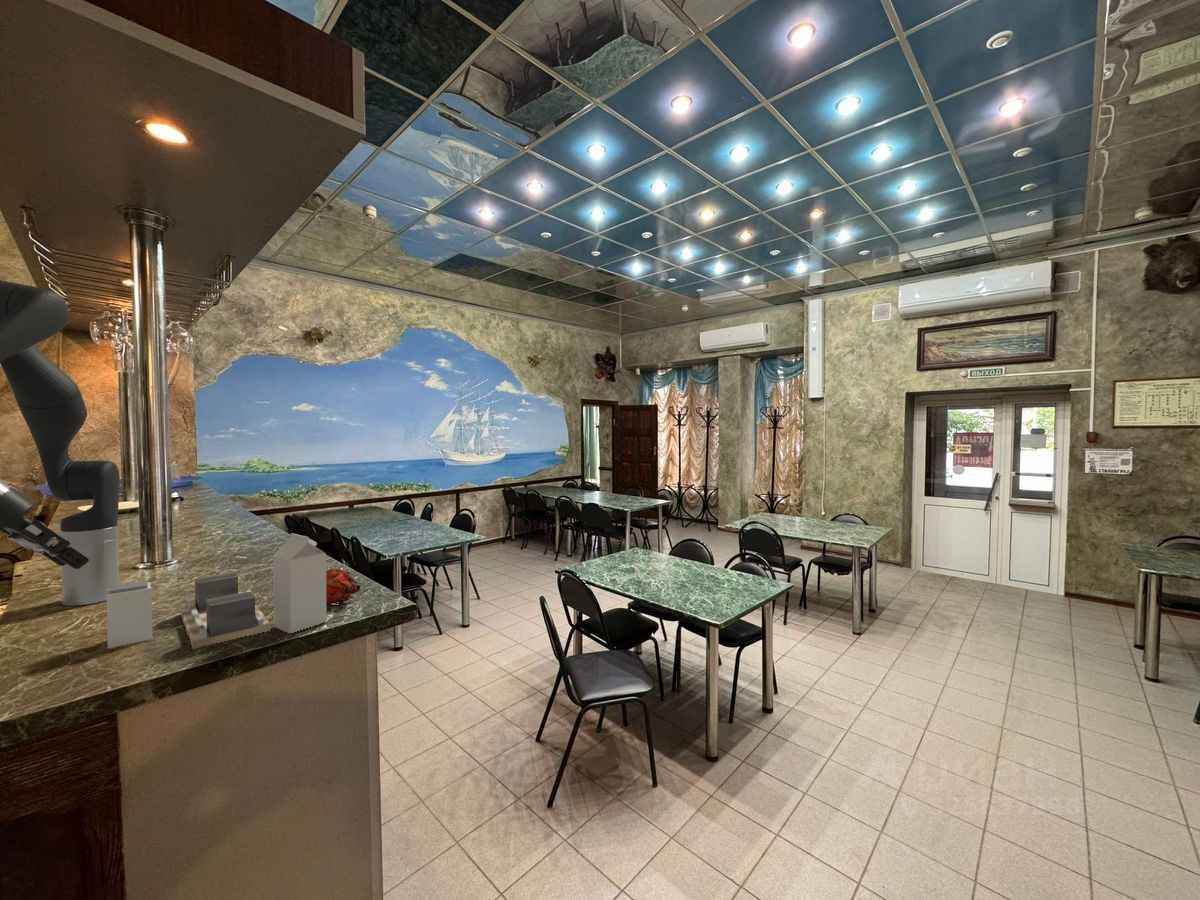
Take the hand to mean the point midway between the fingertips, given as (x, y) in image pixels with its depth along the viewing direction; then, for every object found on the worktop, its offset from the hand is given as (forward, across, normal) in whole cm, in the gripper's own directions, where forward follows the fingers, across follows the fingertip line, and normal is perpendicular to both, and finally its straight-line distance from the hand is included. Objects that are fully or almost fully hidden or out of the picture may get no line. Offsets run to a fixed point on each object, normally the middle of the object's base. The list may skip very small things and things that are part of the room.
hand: (75, 563), depth 86 cm
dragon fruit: (+38, -15, -19) cm, 45 cm away
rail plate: (+25, -6, -5) cm, 26 cm away
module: (+17, -1, +5) cm, 18 cm away
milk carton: (+31, -22, -10) cm, 39 cm away
